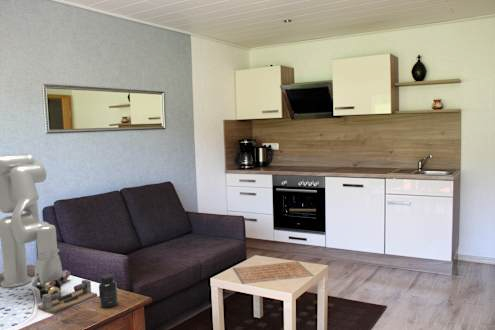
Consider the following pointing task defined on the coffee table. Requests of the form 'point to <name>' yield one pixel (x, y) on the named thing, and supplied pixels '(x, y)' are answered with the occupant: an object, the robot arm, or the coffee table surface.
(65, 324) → the coffee table surface
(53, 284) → the dusty red lumpy block
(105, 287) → the supplement bottle
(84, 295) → the shaft bench
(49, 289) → the coupling sleeve
